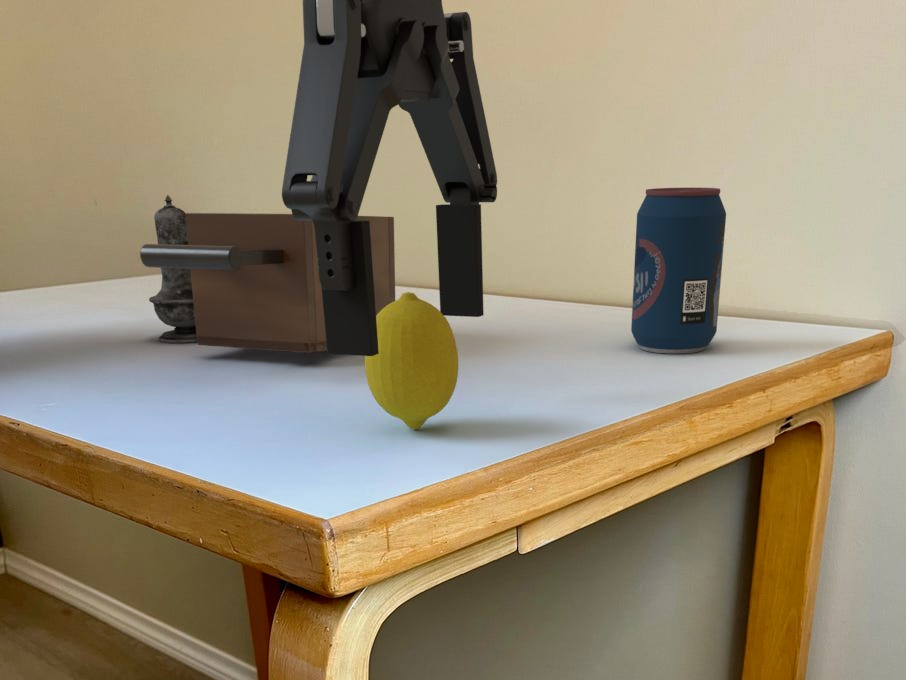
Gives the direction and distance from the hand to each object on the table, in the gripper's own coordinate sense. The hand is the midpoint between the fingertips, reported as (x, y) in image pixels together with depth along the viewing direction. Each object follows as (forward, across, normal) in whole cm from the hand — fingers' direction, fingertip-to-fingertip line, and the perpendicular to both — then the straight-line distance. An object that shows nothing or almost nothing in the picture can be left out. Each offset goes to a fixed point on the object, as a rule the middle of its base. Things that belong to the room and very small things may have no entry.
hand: (412, 333), depth 59 cm
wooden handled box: (+5, +17, +22) cm, 29 cm away
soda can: (+6, +31, -8) cm, 33 cm away
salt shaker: (+6, +22, +35) cm, 42 cm away
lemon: (+6, 0, 0) cm, 6 cm away
